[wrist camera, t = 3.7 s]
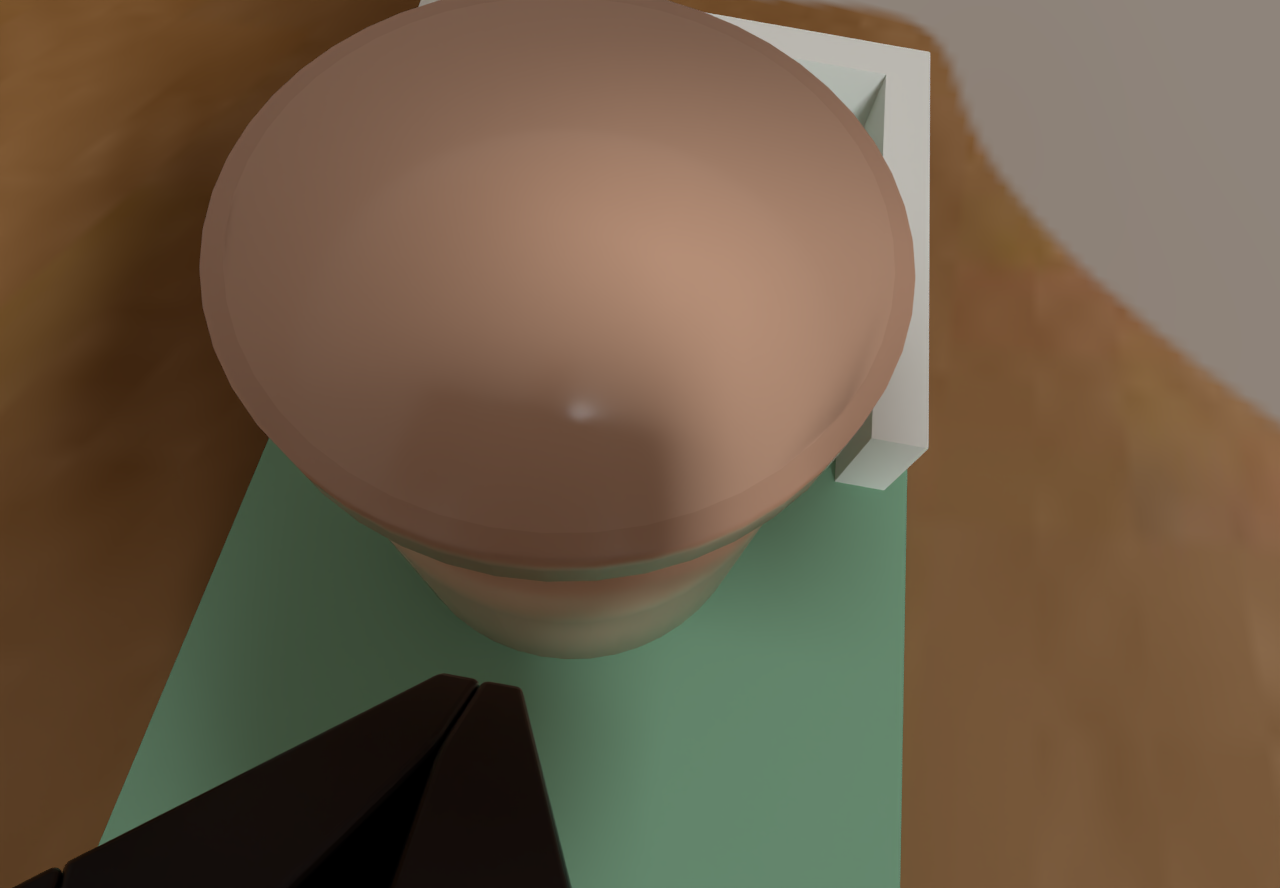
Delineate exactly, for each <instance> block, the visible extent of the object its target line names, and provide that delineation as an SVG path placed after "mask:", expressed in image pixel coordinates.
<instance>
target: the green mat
mask: <svg viewBox="0 0 1280 888" xmlns="http://www.w3.org/2000/svg"><path fill="white" fill-rule="evenodd" d="M835 467H836V459H835V460H834V461H833V462H832V463H831V464H830V465H829V467H828V468H827V469H826V470H825V471H824V472H823V473H822V474H821V475H820V477H819V478H818V479H817V480H816V481H815V482H814V483H813V484H812V485H811V486H810V488H809V489H808V490H807V491H806V492H804V493H803V494H802V495H801V496H800V497H798V498H797V499H796V500H795V501H793V502H792V503H791V504H790V505H789V506H787V507H786V508H785V509H784V510H783V511H781V512H780V513H779V514H778V515H777V516H775V517H774V518H773V519H771V520H769V521H768V522H766V523H764V524H763V525H762V526H761V528H760V529H759V530H758V532H757V533H756V535H755V536H754V537H753V539H752V540H751V542H750V543H749V544H748V546H747V547H746V549H745V550H744V551H743V553H742V554H741V556H740V557H739V558H738V560H737V561H736V563H735V564H734V565H733V567H732V568H731V569H730V571H729V572H728V574H727V575H726V576H725V578H724V579H723V581H722V582H721V583H720V585H719V586H718V588H717V589H716V590H715V592H714V593H713V594H712V595H711V596H710V598H709V599H708V600H707V601H706V602H705V603H704V604H703V605H702V606H701V608H700V609H699V610H698V611H696V612H695V613H694V614H693V615H692V616H690V617H689V618H688V619H687V620H686V621H684V622H683V623H682V624H681V625H679V626H678V627H676V628H675V629H673V630H671V631H670V632H668V633H667V634H665V635H664V636H662V637H660V638H658V639H656V640H654V641H652V642H649V643H647V644H645V645H643V646H641V647H638V648H635V649H632V650H628V651H625V652H622V653H619V654H615V655H609V656H603V657H597V658H591V659H559V658H550V657H541V656H537V655H533V654H529V653H525V652H521V651H517V650H515V649H512V648H510V647H507V646H505V645H502V644H500V643H497V642H495V641H493V640H491V639H489V638H488V637H486V636H484V635H482V634H481V633H479V632H477V631H475V630H474V629H472V628H471V627H470V626H468V625H467V624H466V623H465V622H463V621H462V620H461V619H459V618H458V617H457V616H456V615H454V614H453V613H452V612H451V610H450V609H449V608H448V607H447V606H446V605H445V604H444V603H443V602H442V601H441V600H440V599H439V598H438V597H437V596H436V594H435V593H434V592H433V591H432V590H431V589H430V587H429V586H428V585H427V584H426V583H425V582H424V580H423V579H422V578H421V577H420V576H419V575H418V573H417V572H416V571H415V570H414V569H413V568H412V566H411V565H410V564H409V563H408V562H407V560H406V559H405V558H404V557H403V556H402V555H401V553H400V552H399V551H398V550H397V549H396V548H395V546H394V545H393V544H392V543H391V542H390V541H389V539H388V538H386V537H384V536H382V535H381V534H379V533H377V532H375V531H374V530H372V529H370V528H368V527H367V526H365V525H363V524H361V523H359V522H358V521H357V520H356V519H354V518H353V517H352V516H350V515H349V514H348V513H347V512H345V511H344V510H343V509H341V508H340V507H339V506H338V505H336V504H335V503H334V502H332V501H331V500H330V499H328V498H327V497H326V496H325V495H323V494H322V493H321V492H320V490H319V489H318V488H317V487H316V486H315V485H314V484H313V483H312V482H311V481H310V480H309V479H308V478H307V477H306V476H305V475H304V474H303V473H302V472H301V471H300V470H299V468H298V467H297V466H296V465H295V464H294V463H293V462H292V461H291V460H290V459H289V458H288V457H287V456H286V455H285V454H284V453H283V452H282V451H281V450H280V448H279V447H278V446H277V445H276V444H275V443H274V442H273V441H272V440H271V439H270V438H269V439H268V442H267V444H266V446H265V449H264V451H263V453H262V456H261V458H260V461H259V463H258V465H257V468H256V470H255V473H254V475H253V477H252V480H251V482H250V485H249V487H248V489H247V492H246V494H245V496H244V499H243V501H242V504H241V506H240V508H239V511H238V513H237V516H236V518H235V520H234V523H233V525H232V528H231V530H230V532H229V535H228V537H227V539H226V542H225V544H224V547H223V549H222V551H221V554H220V556H219V559H218V561H217V563H216V566H215V568H214V571H213V573H212V575H211V578H210V580H209V582H208V585H207V587H206V590H205V592H204V594H203V597H202V599H201V602H200V604H199V606H198V609H197V611H196V614H195V616H194V618H193V621H192V623H191V625H190V628H189V630H188V633H187V635H186V637H185V640H184V642H183V645H182V647H181V649H180V652H179V654H178V656H177V659H176V661H175V664H174V666H173V668H172V671H171V673H170V676H169V678H168V680H167V683H166V685H165V688H164V690H163V692H162V695H161V697H160V699H159V702H158V704H157V707H156V709H155V711H154V714H153V716H152V719H151V721H150V723H149V726H148V728H147V731H146V733H145V735H144V738H143V740H142V742H141V745H140V747H139V750H138V752H137V754H136V757H135V759H134V762H133V764H132V766H131V769H130V771H129V774H128V776H127V778H126V781H125V783H124V785H123V788H122V790H121V793H120V795H119V797H118V800H117V802H116V805H115V807H114V809H113V812H112V814H111V816H110V819H109V821H108V824H107V826H106V828H105V831H104V833H103V836H102V838H101V840H100V843H99V845H98V846H100V845H102V844H104V843H106V842H108V841H110V840H112V839H114V838H116V837H118V836H119V835H121V834H123V833H125V832H127V831H129V830H131V829H133V828H135V827H137V826H139V825H141V824H143V823H145V822H147V821H149V820H151V819H153V818H155V817H157V816H159V815H161V814H163V813H165V812H167V811H169V810H171V809H173V808H175V807H177V806H179V805H181V804H183V803H185V802H187V801H189V800H190V799H192V798H194V797H196V796H198V795H200V794H202V793H204V792H206V791H208V790H210V789H212V788H214V787H216V786H218V785H220V784H222V783H224V782H226V781H228V780H230V779H232V778H234V777H236V776H238V775H240V774H242V773H244V772H246V771H248V770H250V769H252V768H254V767H256V766H258V765H259V764H261V763H263V762H265V761H267V760H269V759H271V758H273V757H275V756H277V755H279V754H281V753H283V752H285V751H287V750H289V749H291V748H293V747H295V746H297V745H299V744H301V743H303V742H305V741H307V740H309V739H311V738H313V737H315V736H317V735H319V734H321V733H323V732H325V731H327V730H328V729H330V728H332V727H334V726H336V725H338V724H340V723H342V722H344V721H346V720H348V719H350V718H352V717H354V716H356V715H358V714H360V713H362V712H364V711H366V710H368V709H370V708H372V707H374V706H376V705H378V704H380V703H382V702H384V701H386V700H388V699H390V698H392V697H394V696H396V695H398V694H399V693H401V692H403V691H405V690H407V689H409V688H411V687H413V686H415V685H417V684H419V683H421V682H423V681H425V680H427V679H429V678H431V677H433V676H435V675H438V674H441V673H446V674H452V675H457V676H462V677H468V678H473V679H476V680H477V681H478V682H479V685H481V684H482V683H483V682H488V681H490V682H495V683H501V684H506V685H512V686H517V687H519V688H521V689H522V691H523V694H524V697H525V701H526V705H527V709H528V713H529V717H530V721H531V725H532V729H533V733H534V737H535V742H536V746H537V750H538V754H539V758H540V762H541V766H542V770H543V774H544V778H545V782H546V786H547V790H548V794H549V798H550V802H551V806H552V810H553V814H554V818H555V822H556V826H557V830H558V834H559V838H560V842H561V846H562V850H563V854H564V858H565V862H566V866H567V870H568V874H569V878H570V882H571V886H572V888H900V859H901V801H902V743H903V685H904V627H905V569H906V511H907V469H906V470H905V471H904V472H903V473H902V474H901V475H900V476H899V477H898V478H897V479H896V480H895V481H894V482H892V483H891V484H890V485H889V486H888V487H887V488H886V489H885V490H879V489H873V488H868V487H862V486H857V485H851V484H846V483H840V482H835Z"/></svg>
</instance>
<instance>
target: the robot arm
mask: <svg viewBox="0 0 1280 888" xmlns="http://www.w3.org/2000/svg"><path fill="white" fill-rule="evenodd" d="M13 888H572V886H571V882H570V878H569V874H568V870H567V866H566V862H565V858H564V854H563V850H562V846H561V842H560V838H559V834H558V830H557V826H556V822H555V818H554V814H553V810H552V806H551V802H550V798H549V794H548V790H547V786H546V782H545V778H544V774H543V770H542V766H541V762H540V758H539V754H538V750H537V746H536V742H535V737H534V733H533V729H532V725H531V721H530V717H529V713H528V709H527V705H526V701H525V697H524V694H523V691H522V689H521V688H519V687H517V686H512V685H506V684H501V683H495V682H490V681H488V682H483V683H482V684H481V685H479V682H478V681H477V680H476V679H473V678H468V677H462V676H457V675H452V674H446V673H441V674H438V675H435V676H433V677H431V678H429V679H427V680H425V681H423V682H421V683H419V684H417V685H415V686H413V687H411V688H409V689H407V690H405V691H403V692H401V693H399V694H398V695H396V696H394V697H392V698H390V699H388V700H386V701H384V702H382V703H380V704H378V705H376V706H374V707H372V708H370V709H368V710H366V711H364V712H362V713H360V714H358V715H356V716H354V717H352V718H350V719H348V720H346V721H344V722H342V723H340V724H338V725H336V726H334V727H332V728H330V729H328V730H327V731H325V732H323V733H321V734H319V735H317V736H315V737H313V738H311V739H309V740H307V741H305V742H303V743H301V744H299V745H297V746H295V747H293V748H291V749H289V750H287V751H285V752H283V753H281V754H279V755H277V756H275V757H273V758H271V759H269V760H267V761H265V762H263V763H261V764H259V765H258V766H256V767H254V768H252V769H250V770H248V771H246V772H244V773H242V774H240V775H238V776H236V777H234V778H232V779H230V780H228V781H226V782H224V783H222V784H220V785H218V786H216V787H214V788H212V789H210V790H208V791H206V792H204V793H202V794H200V795H198V796H196V797H194V798H192V799H190V800H189V801H187V802H185V803H183V804H181V805H179V806H177V807H175V808H173V809H171V810H169V811H167V812H165V813H163V814H161V815H159V816H157V817H155V818H153V819H151V820H149V821H147V822H145V823H143V824H141V825H139V826H137V827H135V828H133V829H131V830H129V831H127V832H125V833H123V834H121V835H119V836H118V837H116V838H114V839H112V840H110V841H108V842H106V843H104V844H102V845H100V846H98V847H96V848H94V849H92V850H90V851H88V852H86V853H84V854H82V855H80V856H78V857H76V858H74V859H72V860H70V861H69V862H68V863H67V864H66V865H65V867H64V869H63V873H62V872H61V870H60V869H58V868H51V869H48V870H46V871H44V872H42V873H40V874H38V875H36V876H34V877H33V878H31V879H29V880H27V881H25V882H23V883H21V884H19V885H17V886H15V887H13Z"/></svg>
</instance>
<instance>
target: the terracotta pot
mask: <svg viewBox="0 0 1280 888" xmlns="http://www.w3.org/2000/svg"><path fill="white" fill-rule="evenodd" d="M199 270H200V282H201V294H202V306H203V311H204V315H205V318H206V322H207V326H208V330H209V333H210V337H211V341H212V345H213V348H214V350H215V353H216V355H217V357H218V359H219V361H220V363H221V366H222V368H223V370H224V372H225V374H226V376H227V379H228V381H229V383H230V385H231V387H232V389H233V390H234V392H235V393H236V395H237V396H238V398H239V399H240V400H241V402H242V403H243V405H244V406H245V408H246V409H247V411H248V412H249V414H250V415H251V417H252V418H253V419H254V421H255V422H256V424H257V425H258V426H259V427H260V428H261V430H262V431H263V432H264V433H265V434H266V435H267V436H268V437H269V438H270V439H271V440H272V441H273V442H274V443H275V444H276V445H277V446H278V447H279V448H280V450H281V451H282V452H283V453H284V454H285V455H286V456H287V457H288V458H289V459H290V460H291V461H292V462H293V463H294V464H295V465H296V466H297V467H298V468H299V470H300V471H301V472H302V473H303V474H304V475H305V476H306V477H307V478H308V479H309V480H310V481H311V482H312V483H313V484H314V485H315V486H316V487H317V488H318V489H319V490H320V492H321V493H322V494H323V495H325V496H326V497H327V498H328V499H330V500H331V501H332V502H334V503H335V504H336V505H338V506H339V507H340V508H341V509H343V510H344V511H345V512H347V513H348V514H349V515H350V516H352V517H353V518H354V519H356V520H357V521H358V522H359V523H361V524H363V525H365V526H367V527H368V528H370V529H372V530H374V531H375V532H377V533H379V534H381V535H382V536H384V537H386V538H388V539H389V541H390V542H391V543H392V544H393V545H394V546H395V548H396V549H397V550H398V551H399V552H400V553H401V555H402V556H403V557H404V558H405V559H406V560H407V562H408V563H409V564H410V565H411V566H412V568H413V569H414V570H415V571H416V572H417V573H418V575H419V576H420V577H421V578H422V579H423V580H424V582H425V583H426V584H427V585H428V586H429V587H430V589H431V590H432V591H433V592H434V593H435V594H436V596H437V597H438V598H439V599H440V600H441V601H442V602H443V603H444V604H445V605H446V606H447V607H448V608H449V609H450V610H451V612H452V613H453V614H454V615H456V616H457V617H458V618H459V619H461V620H462V621H463V622H465V623H466V624H467V625H468V626H470V627H471V628H472V629H474V630H475V631H477V632H479V633H481V634H482V635H484V636H486V637H488V638H489V639H491V640H493V641H495V642H497V643H500V644H502V645H505V646H507V647H510V648H512V649H515V650H517V651H521V652H525V653H529V654H533V655H537V656H541V657H550V658H559V659H591V658H597V657H603V656H609V655H615V654H619V653H622V652H625V651H628V650H632V649H635V648H638V647H641V646H643V645H645V644H647V643H649V642H652V641H654V640H656V639H658V638H660V637H662V636H664V635H665V634H667V633H668V632H670V631H671V630H673V629H675V628H676V627H678V626H679V625H681V624H682V623H683V622H684V621H686V620H687V619H688V618H689V617H690V616H692V615H693V614H694V613H695V612H696V611H698V610H699V609H700V608H701V606H702V605H703V604H704V603H705V602H706V601H707V600H708V599H709V598H710V596H711V595H712V594H713V593H714V592H715V590H716V589H717V588H718V586H719V585H720V583H721V582H722V581H723V579H724V578H725V576H726V575H727V574H728V572H729V571H730V569H731V568H732V567H733V565H734V564H735V563H736V561H737V560H738V558H739V557H740V556H741V554H742V553H743V551H744V550H745V549H746V547H747V546H748V544H749V543H750V542H751V540H752V539H753V537H754V536H755V535H756V533H757V532H758V530H759V529H760V528H761V526H762V525H763V524H764V523H766V522H768V521H769V520H771V519H773V518H774V517H775V516H777V515H778V514H779V513H780V512H781V511H783V510H784V509H785V508H786V507H787V506H789V505H790V504H791V503H792V502H793V501H795V500H796V499H797V498H798V497H800V496H801V495H802V494H803V493H804V492H806V491H807V490H808V489H809V488H810V486H811V485H812V484H813V483H814V482H815V481H816V480H817V479H818V478H819V477H820V475H821V474H822V473H823V472H824V471H825V470H826V469H827V468H828V467H829V465H830V464H831V463H832V462H833V461H834V460H835V459H836V457H837V456H838V455H839V454H840V452H841V451H842V450H843V449H844V447H845V446H846V445H847V444H848V442H849V441H850V440H851V439H852V437H853V436H854V435H855V434H856V432H857V431H858V430H859V429H860V427H861V426H862V425H863V423H864V422H865V420H866V419H867V417H868V416H869V414H870V413H871V411H872V410H873V408H874V406H875V405H876V403H877V402H878V400H879V399H880V397H881V396H882V394H883V393H884V391H885V390H886V388H887V386H888V383H889V381H890V379H891V377H892V374H893V372H894V370H895V368H896V365H897V363H898V361H899V359H900V356H901V354H902V352H903V348H904V344H905V340H906V336H907V332H908V329H909V325H910V321H911V317H912V311H913V300H914V288H915V263H914V249H913V239H912V235H911V230H910V226H909V222H908V217H907V213H906V209H905V205H904V203H903V200H902V197H901V195H900V192H899V190H898V187H897V185H896V182H895V180H894V177H893V174H892V172H891V170H890V169H889V167H888V165H887V163H886V162H885V160H884V158H883V156H882V154H881V153H880V151H879V149H878V147H877V146H876V144H875V142H874V141H873V139H872V138H871V137H870V135H869V134H868V133H867V131H866V130H865V129H864V127H863V126H862V125H861V123H860V122H859V121H858V119H857V118H856V117H855V115H854V114H853V113H852V112H851V111H850V109H849V108H848V107H847V106H846V105H845V104H844V103H843V102H842V101H841V100H840V99H839V98H838V97H837V96H836V95H835V94H834V93H833V92H832V91H831V90H830V89H829V88H828V87H827V86H826V85H825V84H824V83H823V82H821V81H820V80H819V79H818V78H817V77H815V76H814V75H813V74H812V73H811V72H809V71H808V70H807V69H806V68H805V67H803V66H802V65H801V64H800V63H798V62H797V61H795V60H794V59H792V58H791V57H789V56H788V55H786V54H785V53H783V52H782V51H780V50H779V49H777V48H776V47H774V46H773V45H771V44H770V43H768V42H766V41H764V40H762V39H761V38H759V37H757V36H755V35H753V34H751V33H749V32H747V31H746V30H744V29H742V28H740V27H738V26H736V25H734V24H731V23H729V22H726V21H724V20H722V19H719V18H717V17H714V16H712V15H710V14H707V13H705V12H702V11H699V10H696V9H693V8H690V7H687V6H683V5H680V4H677V3H674V2H671V1H667V0H439V1H435V2H432V3H429V4H426V5H423V6H420V7H417V8H414V9H411V10H408V11H405V12H402V13H399V14H397V15H394V16H392V17H390V18H388V19H385V20H383V21H381V22H378V23H376V24H374V25H372V26H369V27H367V28H365V29H363V30H361V31H360V32H358V33H356V34H354V35H352V36H351V37H349V38H347V39H345V40H344V41H342V42H340V43H338V44H337V45H335V46H333V47H331V48H330V49H329V50H327V51H326V52H324V53H323V54H322V55H320V56H319V57H317V58H316V59H315V60H313V61H312V62H311V63H309V64H308V65H306V66H305V67H304V68H302V69H301V70H300V71H299V72H297V73H296V74H295V75H294V76H293V77H292V78H291V79H290V80H289V81H288V82H287V83H286V84H284V85H283V86H282V87H281V88H280V89H279V90H278V91H277V92H276V93H275V94H274V95H272V97H271V98H270V99H269V100H268V101H267V103H266V104H265V105H264V106H263V107H262V108H261V110H260V111H259V112H258V113H257V114H256V116H255V117H254V118H253V119H252V120H251V122H250V123H249V124H248V125H247V127H246V128H245V130H244V132H243V133H242V135H241V136H240V138H239V140H238V141H237V143H236V144H235V146H234V147H233V149H232V151H231V152H230V154H229V155H228V157H227V159H226V162H225V164H224V166H223V168H222V171H221V173H220V175H219V178H218V180H217V182H216V184H215V187H214V189H213V191H212V195H211V199H210V203H209V206H208V210H207V214H206V218H205V222H204V226H203V231H202V242H201V253H200V265H199Z"/></svg>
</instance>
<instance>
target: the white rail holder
mask: <svg viewBox="0 0 1280 888" xmlns="http://www.w3.org/2000/svg"><path fill="white" fill-rule="evenodd" d="M435 1H439V0H421V2H420V4H419V6H418V7H420V6H423V5H426V4H429V3H432V2H435ZM707 14H710V15H712V16H714V17H717V18H719V19H722V20H724V21H726V22H729V23H731V24H734V25H736V26H738V27H740V28H742V29H744V30H746V31H747V32H749V33H751V34H753V35H755V36H757V37H759V38H761V39H762V40H764V41H766V42H768V43H770V44H771V45H773V46H774V47H776V48H777V49H779V50H780V51H782V52H783V53H785V54H786V55H788V56H789V57H791V58H792V59H794V60H795V61H797V62H798V63H800V64H801V65H802V66H803V67H805V68H806V69H807V70H808V71H809V72H811V73H812V74H813V75H814V76H815V77H817V78H818V79H819V80H820V81H821V82H823V83H824V84H825V85H826V86H827V87H828V88H829V89H830V90H831V91H832V92H833V93H834V94H835V95H836V96H837V97H838V98H839V99H840V100H841V101H842V102H843V103H844V104H845V105H846V106H847V107H848V108H849V109H850V111H851V112H852V113H853V114H854V115H855V117H856V118H857V119H858V121H859V122H860V123H861V125H862V126H863V127H864V129H865V130H866V131H867V133H868V134H869V135H870V137H871V138H872V139H873V141H874V142H875V144H876V146H877V147H878V149H879V151H880V153H881V154H882V156H883V158H884V160H885V162H886V163H887V165H888V167H889V169H890V170H891V172H892V174H893V177H894V180H895V182H896V185H897V187H898V190H899V192H900V195H901V197H902V200H903V203H904V205H905V209H906V213H907V217H908V222H909V226H910V230H911V235H912V239H913V249H914V263H915V288H914V300H913V311H912V317H911V321H910V325H909V329H908V332H907V336H906V340H905V344H904V348H903V352H902V354H901V356H900V359H899V361H898V363H897V365H896V368H895V370H894V372H893V374H892V377H891V379H890V381H889V383H888V386H887V388H886V390H885V391H884V393H883V394H882V396H881V397H880V399H879V400H878V402H877V403H876V405H875V406H874V408H873V410H872V411H871V413H870V414H869V416H868V417H867V419H866V420H865V422H864V423H863V425H862V426H861V427H860V429H859V430H858V431H857V432H856V434H855V435H854V436H853V437H852V439H851V440H850V441H849V442H848V444H847V445H846V446H845V447H844V449H843V450H842V451H841V452H840V454H839V455H838V456H837V457H836V467H835V482H840V483H846V484H851V485H857V486H862V487H868V488H873V489H879V490H885V489H886V488H887V487H888V486H889V485H890V484H891V483H892V482H894V481H895V480H896V479H897V478H898V477H899V476H900V475H901V474H902V473H903V472H904V471H905V470H906V469H907V468H908V467H909V466H910V465H912V464H913V463H914V462H915V461H916V460H917V459H918V458H919V457H920V456H921V455H922V454H923V453H924V452H925V451H926V450H927V449H928V435H929V197H930V52H926V51H921V50H915V49H909V48H904V47H898V46H892V45H887V44H881V43H875V42H870V41H864V40H858V39H853V38H847V37H841V36H835V35H830V34H824V33H818V32H813V31H807V30H801V29H796V28H790V27H784V26H779V25H773V24H767V23H762V22H756V21H750V20H745V19H739V18H733V17H728V16H722V15H716V14H711V13H707Z"/></svg>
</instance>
